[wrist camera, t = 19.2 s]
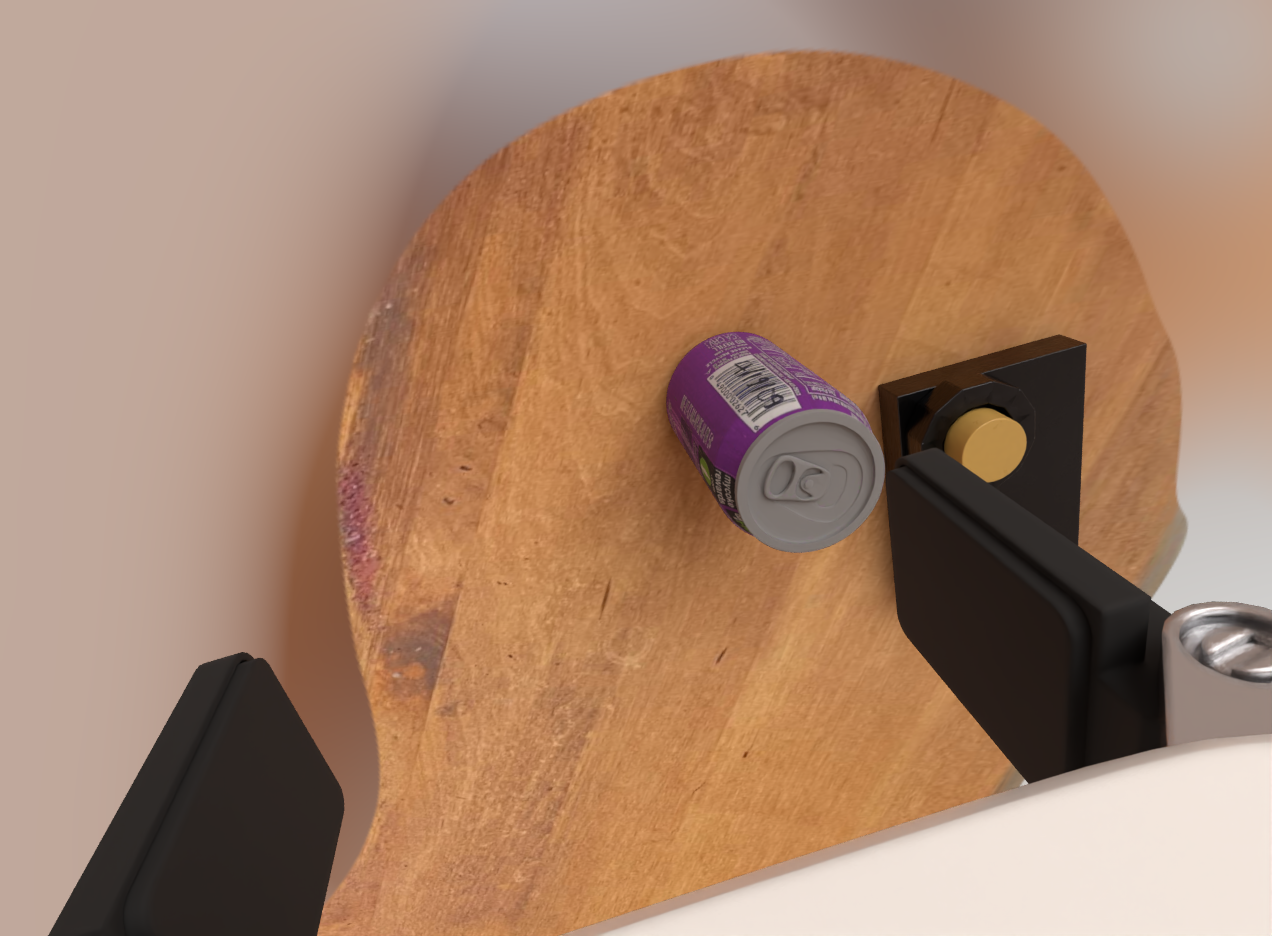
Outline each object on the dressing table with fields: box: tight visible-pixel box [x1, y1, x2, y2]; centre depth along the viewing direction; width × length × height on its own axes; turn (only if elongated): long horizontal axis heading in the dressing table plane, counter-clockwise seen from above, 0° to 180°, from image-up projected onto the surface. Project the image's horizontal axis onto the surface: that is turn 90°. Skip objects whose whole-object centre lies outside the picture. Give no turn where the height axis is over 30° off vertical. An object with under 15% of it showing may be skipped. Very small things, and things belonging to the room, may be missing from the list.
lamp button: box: [944, 408, 1027, 482], centre depth 39 cm, size 4×4×2 cm
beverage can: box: [666, 332, 885, 553], centre depth 35 cm, size 7×7×12 cm
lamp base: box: [879, 335, 1087, 546], centre depth 43 cm, size 14×11×4 cm
